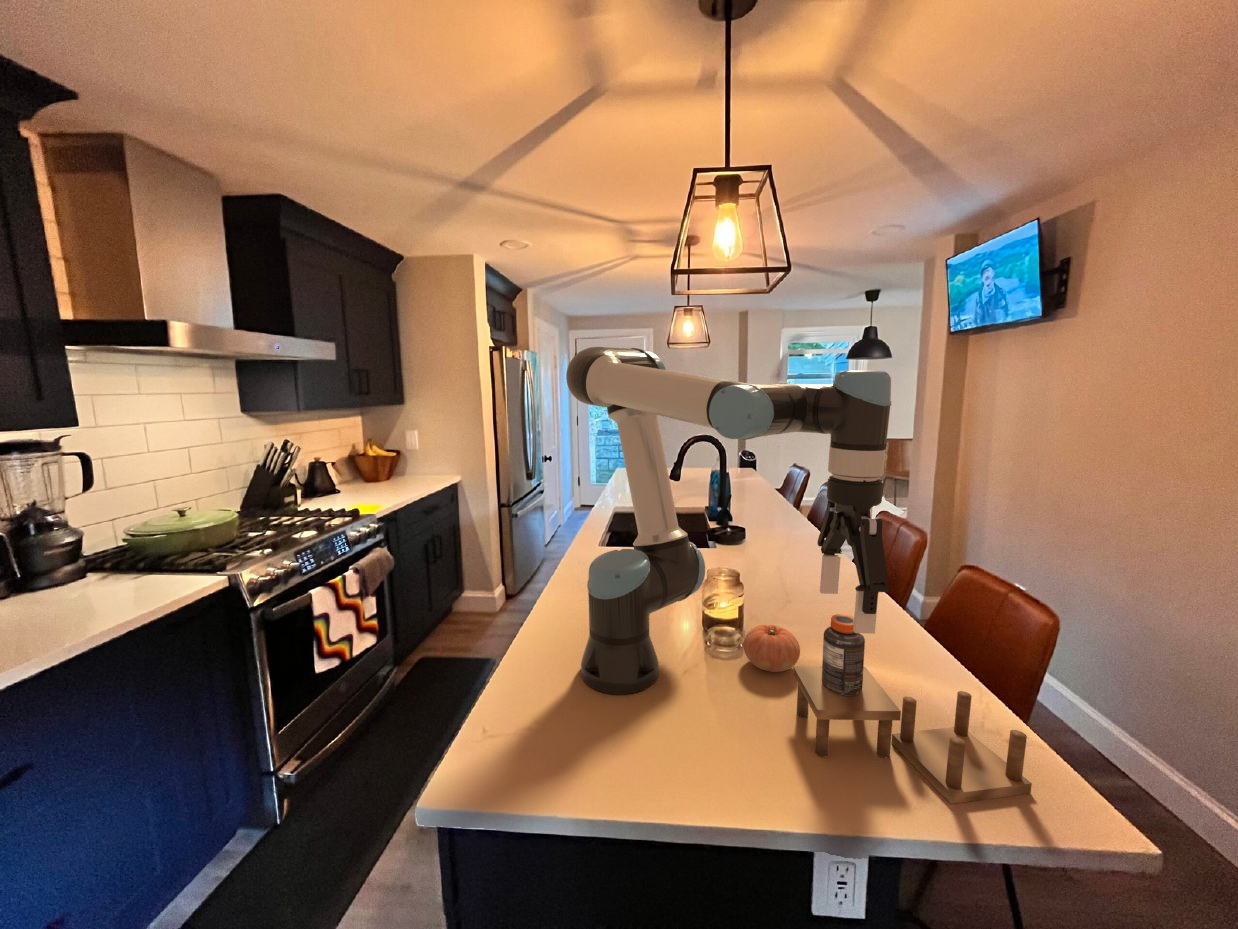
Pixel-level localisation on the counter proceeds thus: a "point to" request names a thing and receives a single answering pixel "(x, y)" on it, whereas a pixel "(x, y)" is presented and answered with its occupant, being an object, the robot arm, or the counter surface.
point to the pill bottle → (843, 657)
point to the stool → (844, 707)
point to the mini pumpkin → (771, 648)
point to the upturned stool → (961, 757)
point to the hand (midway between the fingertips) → (844, 611)
